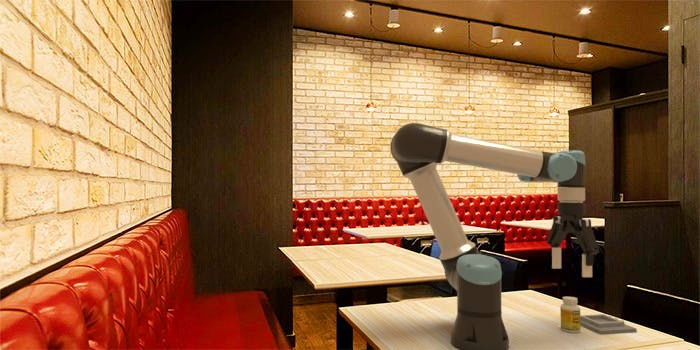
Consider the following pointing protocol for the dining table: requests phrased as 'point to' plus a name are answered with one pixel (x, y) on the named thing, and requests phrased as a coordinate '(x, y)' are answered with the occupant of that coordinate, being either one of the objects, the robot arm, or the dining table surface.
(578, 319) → the supplement bottle
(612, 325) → the socket board
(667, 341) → the dining table surface
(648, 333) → the dining table surface
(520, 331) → the dining table surface
